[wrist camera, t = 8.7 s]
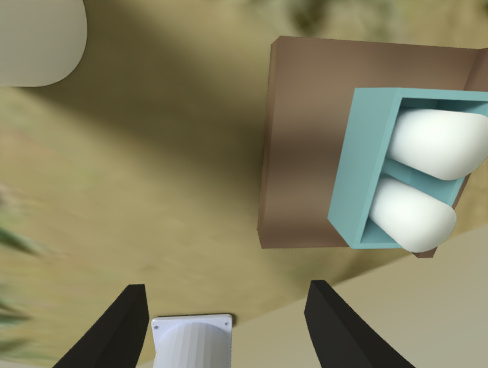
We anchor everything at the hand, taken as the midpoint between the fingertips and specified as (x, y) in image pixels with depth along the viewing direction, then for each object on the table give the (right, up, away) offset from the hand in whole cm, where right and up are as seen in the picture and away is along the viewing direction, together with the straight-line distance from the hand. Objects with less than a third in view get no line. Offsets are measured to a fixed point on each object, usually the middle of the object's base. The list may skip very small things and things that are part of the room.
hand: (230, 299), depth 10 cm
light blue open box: (+10, +7, +6) cm, 13 cm away
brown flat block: (+9, +7, +8) cm, 14 cm away
